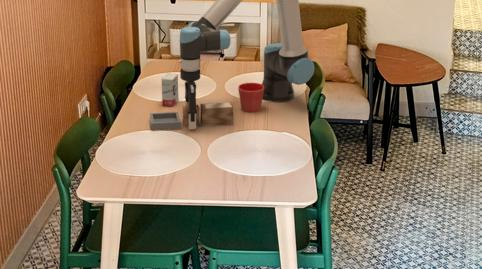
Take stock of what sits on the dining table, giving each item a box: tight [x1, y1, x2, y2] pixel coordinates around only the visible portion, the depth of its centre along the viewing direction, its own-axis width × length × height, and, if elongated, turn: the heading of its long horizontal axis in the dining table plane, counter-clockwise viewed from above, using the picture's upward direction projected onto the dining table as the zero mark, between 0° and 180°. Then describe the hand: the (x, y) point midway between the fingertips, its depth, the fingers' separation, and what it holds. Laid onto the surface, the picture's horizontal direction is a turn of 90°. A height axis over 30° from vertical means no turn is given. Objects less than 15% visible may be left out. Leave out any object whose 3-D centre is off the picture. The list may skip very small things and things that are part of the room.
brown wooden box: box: [199, 102, 234, 127], centre depth 267 cm, size 12×6×7 cm, turn 100°
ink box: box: [161, 72, 179, 107], centre depth 286 cm, size 9×5×12 cm, turn 168°
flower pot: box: [237, 82, 264, 113], centre depth 281 cm, size 11×11×10 cm
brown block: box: [182, 103, 201, 128], centre depth 266 cm, size 6×5×7 cm
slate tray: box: [149, 111, 182, 131], centre depth 266 cm, size 11×11×3 cm
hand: (190, 123), depth 267 cm, fingers open, 10 cm apart
